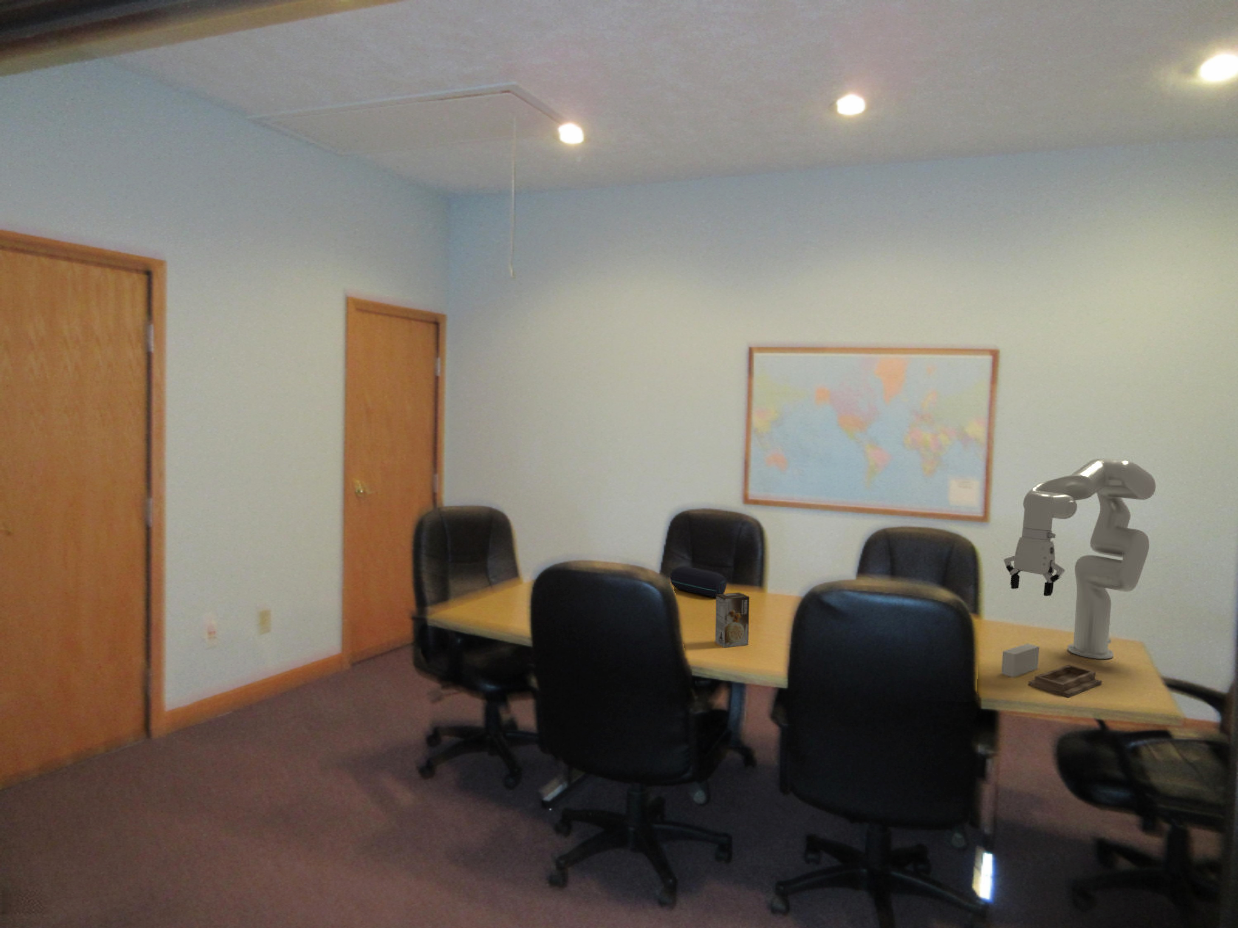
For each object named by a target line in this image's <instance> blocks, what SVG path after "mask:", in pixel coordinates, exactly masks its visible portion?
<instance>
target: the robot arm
mask: <svg viewBox="0 0 1238 928" xmlns="http://www.w3.org/2000/svg"><path fill="white" fill-rule="evenodd" d="M1156 484H1157V483H1156V481H1155V479H1154V477H1153V476H1152V474H1150V473H1149V472H1148V471H1147V470H1145V469H1144V468H1142V467H1141V466H1140V465H1138V464H1136V463H1134V462H1132V461H1130V460H1126V459H1125V460H1124V459H1114V458H1112V459H1111V458H1095V459H1092V460H1090V461H1088V462H1087V463H1086V464H1084V465H1082V466H1081V467H1080V468H1078V469H1077V470H1076V471H1074V472H1073V473H1072V474H1070V475H1065V476H1060V477H1057V478H1053V479H1050V480H1045V481H1043V482H1041V483H1039V484H1037V485H1036V486H1035V487H1033V488H1031V489H1030V490H1029V491H1028V492H1027V493H1026V494H1025V496H1024V498H1023V503H1022V505H1023V509H1024V511H1023V522H1022V532H1021V536H1020V537H1019V539H1018V542H1017V545H1016V547H1015V548H1016V549H1015V552H1014V555H1013V556H1010V557H1006V558H1004V559H1003V562H1004V565H1005V567H1006V570H1007V571H1008V572H1009V575H1010V589H1012V590H1017V589H1019V587H1020V578H1021V577H1020V573H1021V572H1025V573H1029V574H1036V575H1040V576H1041V575H1043V578H1044V579H1045V580H1046V581H1045V582H1044V589H1043V596H1044V597H1048V596H1049V597H1051V596H1052V594H1053V591H1054V583H1055V582H1057V581H1058V580H1059V579H1061V577H1062V575H1063V574H1064V573H1065V571H1066V570H1065V569H1064V568H1063V567H1062V566H1060V565H1058V564H1057V563H1056V553H1055V543H1054V541H1051V540H1052V539H1055V538H1056V537H1057V535H1056V533H1053V531H1052V527H1053V519H1057V520H1067V519H1070V518H1072V517H1073V516H1074V515H1075V514H1076V513H1077V509H1078V503H1077V501H1081V500H1082V501H1083V500H1087V499H1089V498H1091V497H1092V496H1094V495H1095V494H1096V495H1097V498H1098V503H1099V513H1098V516H1097V519H1096V523H1095V526H1094V528H1093V531H1092V534H1091V537H1090V541H1089V542H1090V543H1089V544H1090V545H1089V546H1090V548H1091V549H1092V551H1094V552H1095V553H1098V554H1100V555H1106V556H1112V557H1118V558H1122V559H1117V558H1116V559H1115V558H1110V557H1106V556H1105V557H1104V556H1099V555H1093V554H1092V555H1091V554H1090V555H1089V554H1086V555H1083V556H1081V557H1079V558H1078V559H1077V560H1076V562H1075V565H1074V574H1075V581H1076V582H1075V583H1076V600H1075V601H1076V602H1075V616H1074V617H1075V618H1074V629H1073V630H1074V631H1073V643H1071V644H1068V645H1067V651H1069V652H1070V653H1072V654H1074V655H1077V656H1080V657H1084V658H1085V657H1086V658H1089V659H1090V658H1091V659H1100V660H1104V659H1105V660H1108V659H1111V658H1113V657H1114V652H1113V651H1112V650H1111V649H1109V644H1111V643H1112V639H1111V638H1110V635H1109V634H1110V625H1111V624H1110V623H1111V621H1110V620H1111V610H1112V601H1111V596H1110V594H1109V592H1108V591H1107V589H1108V590H1113V591H1119V592H1124V593H1125V592H1126V593H1128V592H1131V591H1133V590H1134V589H1135V588H1136V587H1137V585H1138V583H1139V580H1140V578H1141V574H1142V572H1143V569H1144V566H1145V564H1146V560H1147V557H1148V554H1149V551H1150V550H1149V549H1150V540H1149V536H1148V535H1147V533H1146V532H1145V531H1143V530H1140V529H1135V528H1131V527H1130V528H1128V526H1129V523H1130V520H1131V512H1130V510H1129V507H1128V506H1127V504H1126V503H1125V501H1124V500H1123V499H1129V500H1130V499H1131V500H1137V501H1138V500H1139V501H1141V500H1142V501H1146V500H1148V499H1150V498H1152V497H1153V495H1154V494H1155V492H1156V487H1157V485H1156ZM1012 562H1013V565H1012ZM1055 571H1056V573H1055ZM1054 573H1055V574H1054Z"/></svg>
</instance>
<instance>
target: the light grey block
mask: <svg viewBox="0 0 1238 928" xmlns="http://www.w3.org/2000/svg"><path fill="white" fill-rule="evenodd" d="M1039 656H1040V646H1038V645H1034V644H1032V643H1025V644H1021V645H1018V646H1015V647H1012V648H1009V649H1005V650H1002V658H1001V659H1002V660H1001V675H1003V674H1004V675H1003V676H1007V677H1011V678H1016V677H1018V676H1021V675H1025V674H1027V673H1030V672H1033V671H1036V670H1038V669H1039ZM1035 669H1036V670H1035ZM1029 671H1030V672H1029ZM1015 676H1016V677H1015Z"/></svg>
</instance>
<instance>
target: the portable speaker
mask: <svg viewBox="0 0 1238 928" xmlns="http://www.w3.org/2000/svg"><path fill="white" fill-rule="evenodd" d="M670 583H671V585H672V586H673V587H674V588H675V589H678V590H680V591H684V592H688V593H694V594H697V595H701V596H706V597H709V598H710V597H711V598H714V599H716V595H717V594H725V593H726V588H727V579H726V578H725V577H724V575H723V574H721V573H719V572H716V571H710V570H705V569H700V568H696V567H691V566H685V565H682V566H677V567H675V568H674V569H672V571H671V574H670Z"/></svg>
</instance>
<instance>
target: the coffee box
mask: <svg viewBox="0 0 1238 928" xmlns="http://www.w3.org/2000/svg"><path fill="white" fill-rule="evenodd" d="M749 622H750V596H749V595H747V594H744V593H741V592H731V593H730V592H729V593H724V594H717V595H716V598H715V632H714V633H715V635H714V638H715V639H714V641H715V643H716V644H718V645H719V646H721V647H723V648H731V647H741V646H747V645H749V633H750V632H749V627H750V623H749Z"/></svg>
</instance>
